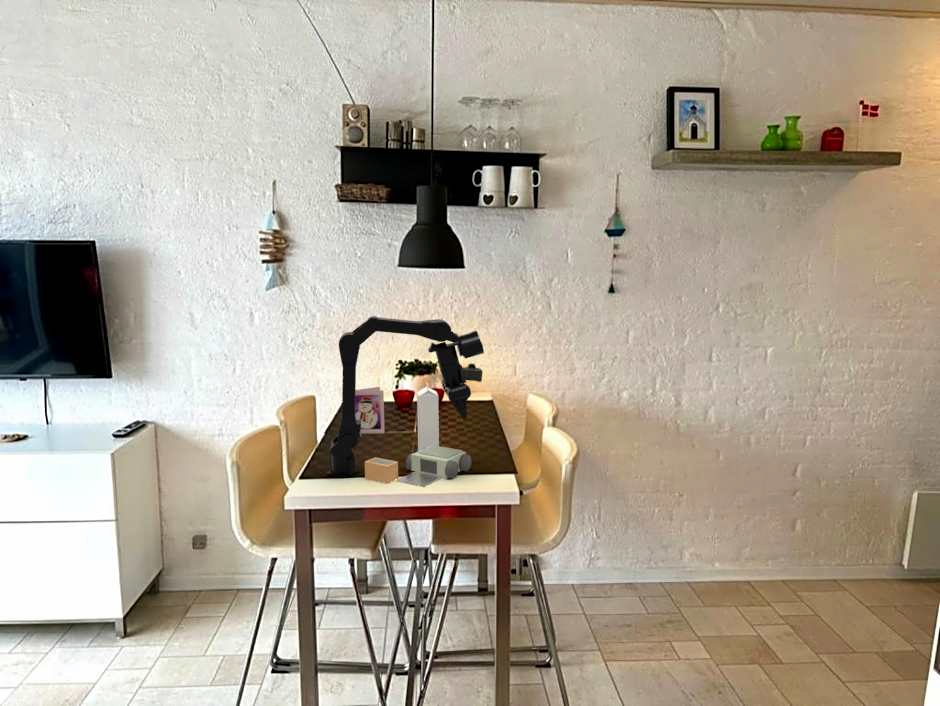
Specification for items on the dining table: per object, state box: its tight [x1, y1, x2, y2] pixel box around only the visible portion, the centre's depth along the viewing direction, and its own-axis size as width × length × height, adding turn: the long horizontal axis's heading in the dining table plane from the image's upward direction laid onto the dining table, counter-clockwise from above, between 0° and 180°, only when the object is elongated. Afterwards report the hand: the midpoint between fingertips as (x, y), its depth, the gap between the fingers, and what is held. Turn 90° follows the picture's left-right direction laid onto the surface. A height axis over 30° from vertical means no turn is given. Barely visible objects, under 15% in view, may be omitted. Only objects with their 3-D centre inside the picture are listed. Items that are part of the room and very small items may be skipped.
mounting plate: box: [396, 471, 443, 488], centre depth 184 cm, size 9×8×1 cm
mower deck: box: [405, 445, 472, 479], centre depth 191 cm, size 15×12×5 cm
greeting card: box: [355, 386, 385, 434], centre depth 233 cm, size 11×7×15 cm, turn 90°
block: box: [364, 456, 399, 484], centre depth 184 cm, size 8×4×5 cm, turn 58°
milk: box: [416, 381, 440, 452], centre depth 206 cm, size 6×6×22 cm
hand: (462, 414), depth 192 cm, fingers open, 9 cm apart
